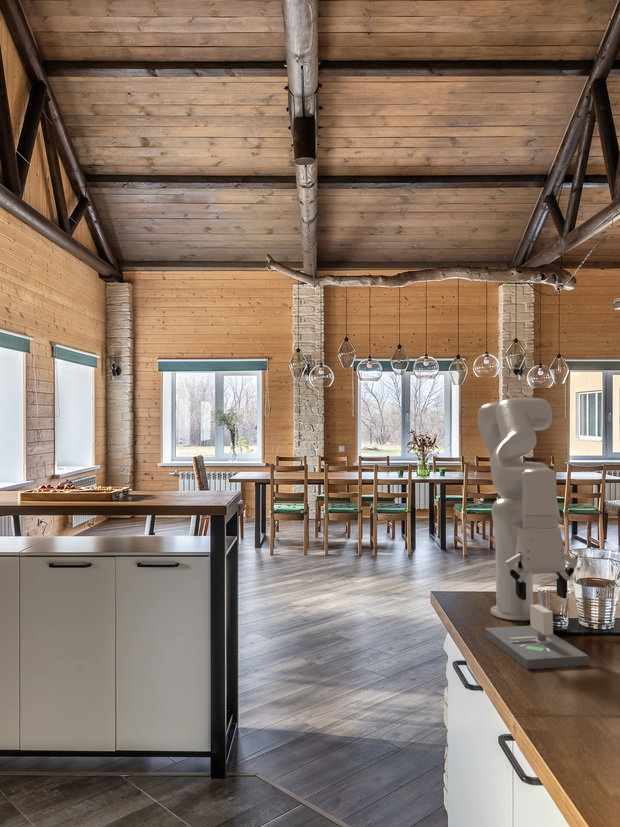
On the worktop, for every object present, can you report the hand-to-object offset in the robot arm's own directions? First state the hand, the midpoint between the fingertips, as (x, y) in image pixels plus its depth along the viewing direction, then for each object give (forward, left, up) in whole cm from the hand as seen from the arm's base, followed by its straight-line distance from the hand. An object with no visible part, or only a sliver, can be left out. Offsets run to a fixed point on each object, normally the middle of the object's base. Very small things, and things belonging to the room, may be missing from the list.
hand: (541, 597), depth 152 cm
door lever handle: (-1, -3, -9) cm, 10 cm away
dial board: (-1, -2, -12) cm, 12 cm away
